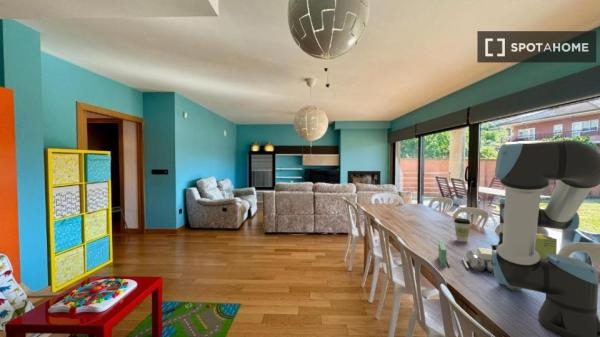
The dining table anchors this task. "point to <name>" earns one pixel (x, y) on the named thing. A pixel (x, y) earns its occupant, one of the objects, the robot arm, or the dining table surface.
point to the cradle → (462, 260)
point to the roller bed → (478, 262)
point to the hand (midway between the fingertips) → (509, 283)
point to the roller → (514, 288)
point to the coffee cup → (462, 229)
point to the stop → (442, 254)
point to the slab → (485, 253)
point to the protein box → (545, 245)
